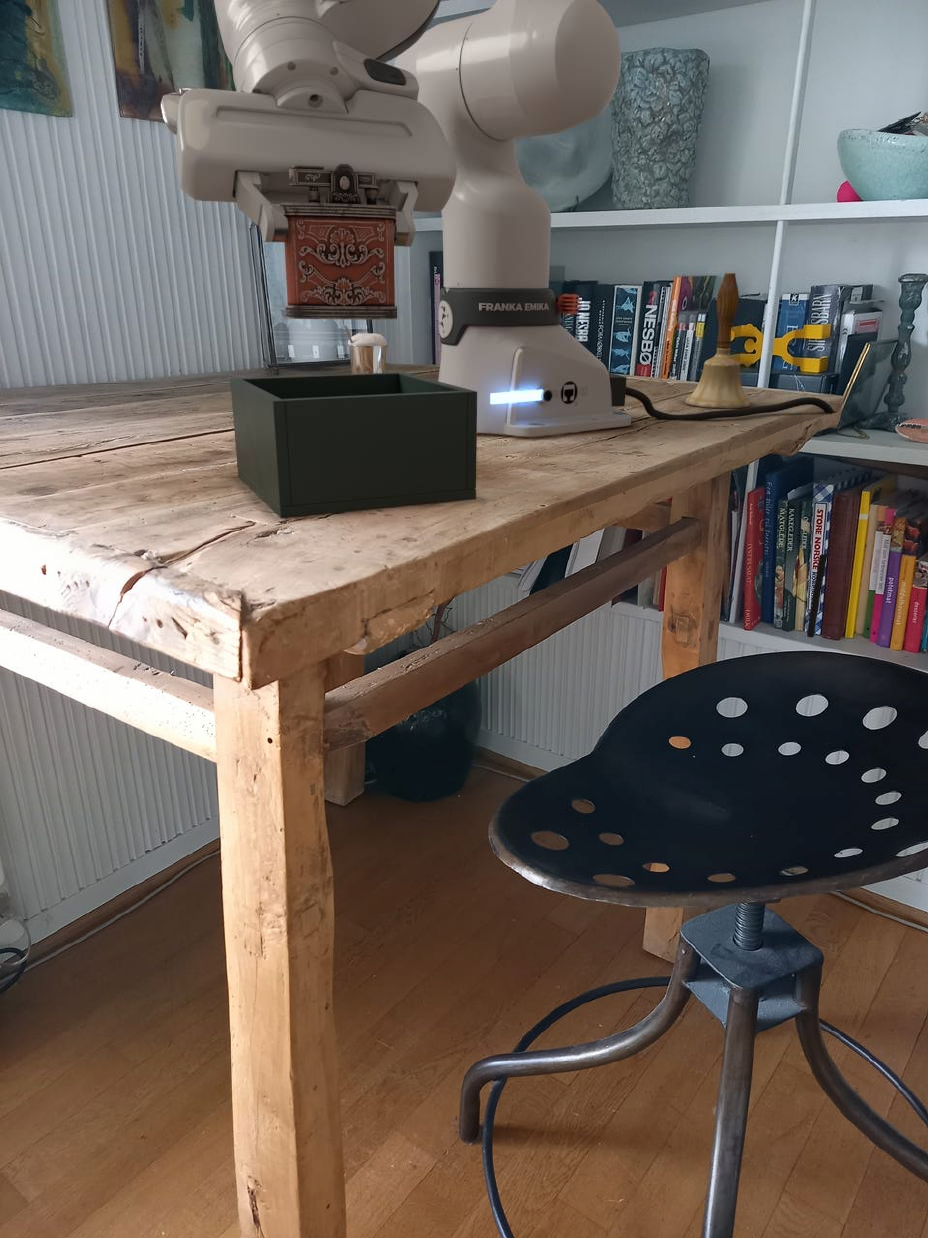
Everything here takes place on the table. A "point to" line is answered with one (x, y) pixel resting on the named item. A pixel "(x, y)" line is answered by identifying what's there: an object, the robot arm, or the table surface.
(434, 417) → the bin
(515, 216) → the robot arm
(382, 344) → the milkshake
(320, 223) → the lighter
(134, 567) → the table surface
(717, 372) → the hand bell
